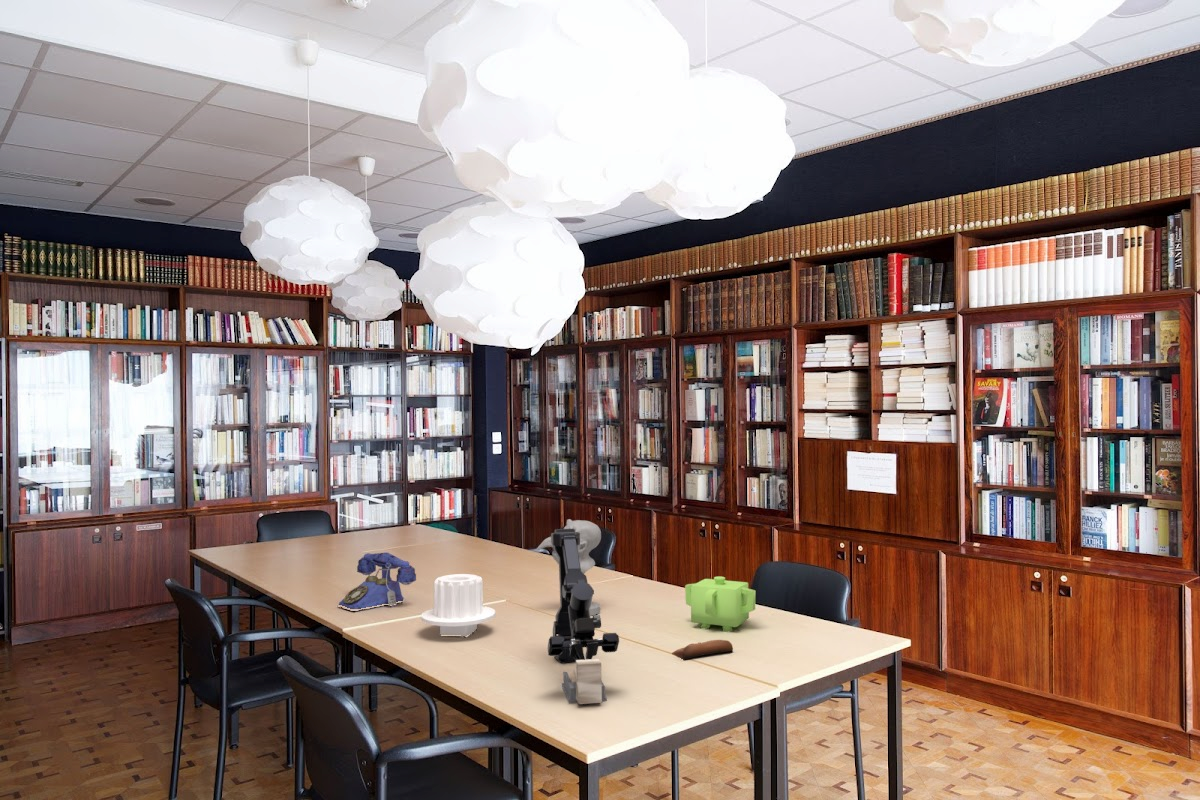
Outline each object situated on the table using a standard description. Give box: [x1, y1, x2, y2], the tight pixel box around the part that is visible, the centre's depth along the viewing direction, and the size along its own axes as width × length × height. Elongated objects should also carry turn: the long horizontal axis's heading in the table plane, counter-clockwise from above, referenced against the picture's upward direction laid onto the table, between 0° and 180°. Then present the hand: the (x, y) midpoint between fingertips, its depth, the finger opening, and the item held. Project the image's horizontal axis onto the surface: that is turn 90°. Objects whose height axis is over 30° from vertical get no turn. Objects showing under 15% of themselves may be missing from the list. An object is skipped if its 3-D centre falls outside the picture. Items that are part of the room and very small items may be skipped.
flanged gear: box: [420, 573, 496, 636], centre depth 286 cm, size 25×25×19 cm
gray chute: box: [561, 671, 608, 704], centre depth 223 cm, size 14×10×4 cm
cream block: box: [575, 658, 603, 705], centre depth 215 cm, size 4×6×10 cm, turn 100°
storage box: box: [684, 575, 757, 632], centre depth 292 cm, size 25×23×17 cm
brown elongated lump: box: [671, 639, 734, 661], centre depth 259 cm, size 18×7×7 cm, turn 116°
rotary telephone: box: [338, 552, 417, 609], centre depth 332 cm, size 41×24×20 cm, turn 46°
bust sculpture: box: [536, 518, 602, 617], centre depth 314 cm, size 16×24×35 cm, turn 87°
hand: (587, 673), depth 217 cm, fingers closed, pressing on cream block
